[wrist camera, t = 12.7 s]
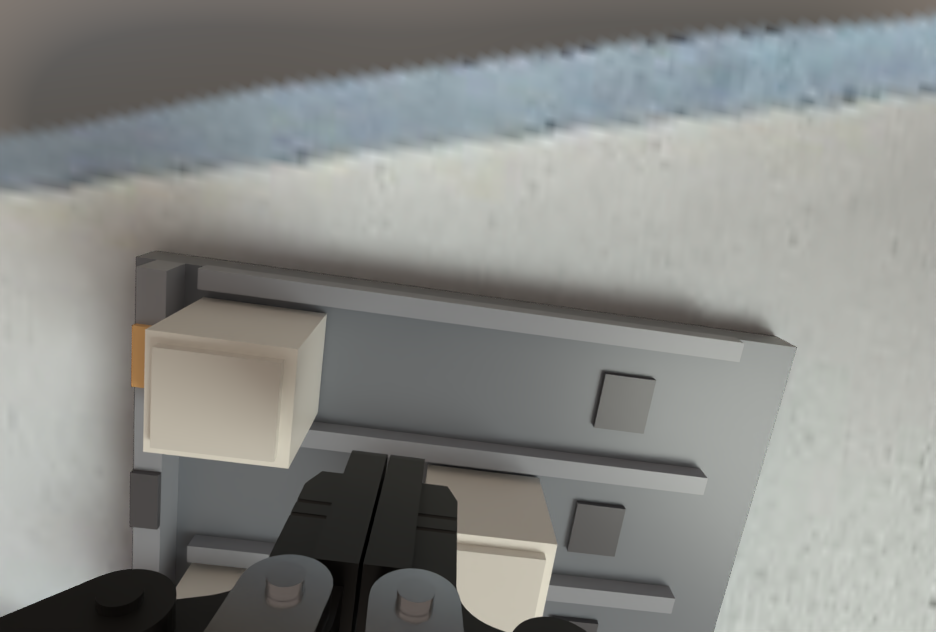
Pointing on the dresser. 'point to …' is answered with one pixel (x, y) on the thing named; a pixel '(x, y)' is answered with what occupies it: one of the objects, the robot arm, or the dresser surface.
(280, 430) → the tab near
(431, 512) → the robot arm
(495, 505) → the tab mid
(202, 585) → the tab far
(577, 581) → the switch bank
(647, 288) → the dresser surface
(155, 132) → the dresser surface
